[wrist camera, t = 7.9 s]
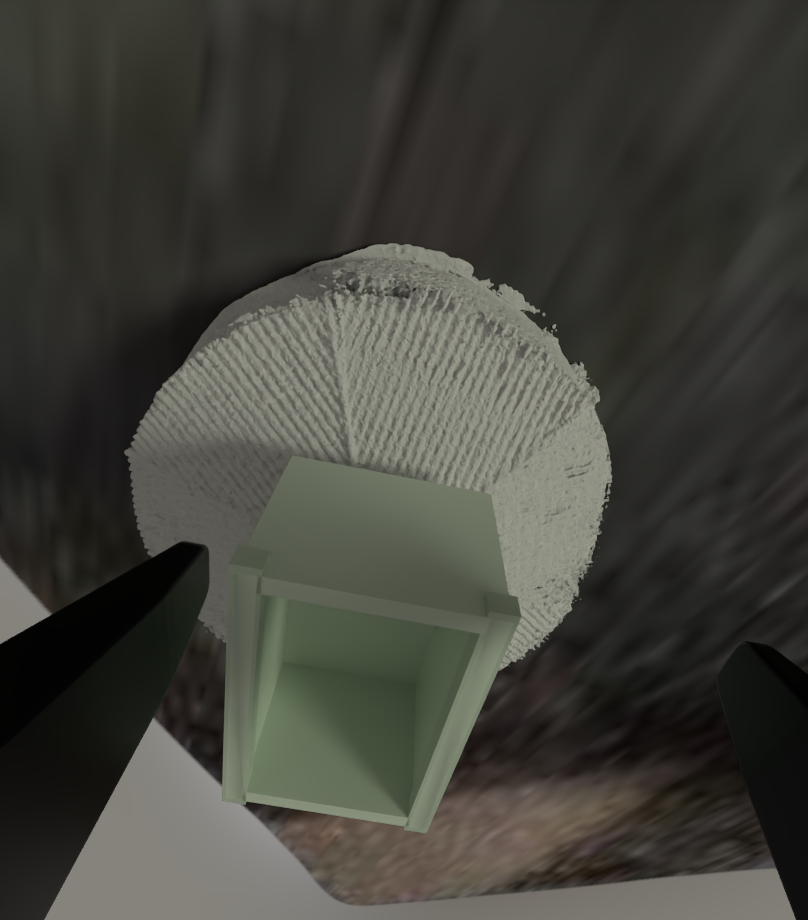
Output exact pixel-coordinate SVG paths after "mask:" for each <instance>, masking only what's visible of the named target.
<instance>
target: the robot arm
mask: <svg viewBox="0 0 808 920" xmlns="http://www.w3.org/2000/svg"><path fill="white" fill-rule="evenodd" d="M209 583H210V572H209V549H208V547H207V546H206V545H204V544H200V543H194V542H189V541H182V542H179V543H177V544H175V545H173V546H171V547H170V548H168V549H166V550H164V551H163V552H161V553H159V554H157V555H156V556H154V557H152V558H150V559H149V560H147V561H145V562H143V563H142V564H140V565H138V566H136V567H135V568H133V569H131V570H129V571H128V572H126V573H124V574H122V575H121V576H119V577H117V578H115V579H114V580H112V581H110V582H108V583H107V584H105V585H103V586H101V587H100V588H98V589H96V590H94V591H93V592H91V593H89V594H87V595H86V596H84V597H82V598H80V599H79V600H77V601H75V602H73V603H72V604H70V605H68V606H66V607H64V608H63V609H61V610H59V611H57V612H56V613H54V614H52V615H50V616H49V617H47V618H45V619H43V620H42V621H40V622H38V623H36V624H35V625H33V626H31V627H30V628H28V629H26V630H24V631H23V632H21V633H19V634H17V635H15V636H14V637H12V638H10V639H8V640H7V641H5V642H3V643H2V644H0V920H44V919H45V917H46V915H47V913H48V912H49V910H50V908H51V906H52V904H53V902H54V901H55V899H56V897H57V895H58V893H59V891H60V889H61V888H62V886H63V884H64V882H65V880H66V878H67V876H68V875H69V873H70V871H71V869H72V867H73V865H74V863H75V862H76V860H77V858H78V856H79V854H80V852H81V850H82V848H83V847H84V845H85V843H86V841H87V839H88V837H89V835H90V834H91V832H92V830H93V828H94V826H95V824H96V822H97V821H98V819H99V817H100V815H101V813H102V811H103V810H104V808H105V806H106V804H107V802H108V800H109V798H110V796H111V795H112V793H113V791H114V789H115V787H116V785H117V784H118V782H119V780H120V778H121V776H122V774H123V772H124V771H125V769H126V767H127V765H128V763H129V761H130V760H131V758H132V756H133V754H134V752H135V750H136V748H137V747H138V745H139V743H140V741H141V739H142V737H143V735H144V734H145V732H146V730H147V728H148V726H149V724H150V722H151V720H152V719H153V717H154V715H155V713H156V711H157V709H158V708H159V706H160V704H161V702H162V700H163V698H164V696H165V694H166V692H167V690H168V688H169V686H170V684H171V682H172V680H173V678H174V675H175V673H176V671H177V668H178V666H179V663H180V661H181V658H182V656H183V653H184V651H185V648H186V646H187V644H188V641H189V639H190V636H191V634H192V631H193V629H194V626H195V624H196V621H197V619H198V616H199V614H200V611H201V609H202V607H203V604H204V602H205V599H206V596H207V593H208V590H209ZM716 683H717V689H718V692H719V696H720V700H721V703H722V707H723V710H724V714H725V717H726V721H727V725H728V728H729V732H730V735H731V739H732V742H733V746H734V750H735V753H736V757H737V760H738V764H739V767H740V770H741V774H742V777H743V780H744V783H745V786H746V789H747V791H748V794H749V797H750V800H751V802H752V805H753V808H754V810H755V813H756V816H757V818H758V821H759V823H760V826H761V829H762V831H763V834H764V837H765V839H766V842H767V845H768V847H769V850H770V852H771V855H772V858H773V860H774V863H775V866H776V868H777V871H778V873H779V876H780V879H781V881H782V884H783V887H784V889H785V892H786V894H787V897H788V900H789V902H790V905H791V907H792V910H793V913H794V916H795V918H796V920H808V674H807V673H806V672H804V671H803V670H802V669H800V668H799V667H798V666H796V665H795V664H794V663H792V662H791V661H790V660H789V659H787V658H786V657H785V656H783V655H782V654H781V653H779V652H778V651H777V650H775V649H774V648H772V647H771V646H768V645H765V644H760V643H754V642H748V641H746V642H742V643H740V644H738V645H737V646H736V648H735V649H734V651H733V652H732V653H731V655H730V656H729V657H728V659H727V660H726V661H725V663H724V664H723V665H722V667H721V668H720V670H719V671H718V674H717V679H716Z"/></svg>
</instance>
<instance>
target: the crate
mask: <svg viewBox="0 0 808 920" xmlns="http://www.w3.org/2000/svg"><path fill="white" fill-rule="evenodd" d="M520 619H521V612H520V607H519V602H518V597H517V596H512V595H509V592H508V586H507V581H506V575H505V570H504V564H503V558H502V553H501V547H500V542H499V536H498V531H497V525H496V519H495V514H494V508H493V503H492V497H491V494H489V493H484V492H478V491H473V490H468V489H463V488H458V487H453V486H448V485H443V484H437V483H432V482H427V481H422V480H417V479H412V478H407V477H401V476H396V475H391V474H386V473H381V472H376V471H371V470H365V469H360V468H355V467H350V466H345V465H340V464H335V463H330V462H324V461H319V460H314V459H309V458H304V457H299V456H294V455H292V457H291V459H290V461H289V463H288V465H287V467H286V469H285V471H284V473H283V475H282V477H281V479H280V481H279V483H278V485H277V487H276V489H275V490H274V492H273V494H272V496H271V498H270V500H269V502H268V504H267V506H266V508H265V510H264V512H263V514H262V516H261V518H260V520H259V522H258V524H257V526H256V528H255V530H254V532H253V534H252V536H251V538H250V540H249V542H248V544H247V546H241V545H238V547H237V549H236V551H235V553H234V555H233V557H232V559H231V561H230V562H229V574H228V609H227V643H226V677H225V712H224V746H223V781H222V801H226V802H233V803H239V804H246V801H248V802H254V803H261V804H267V805H273V806H280V807H286V808H292V809H299V810H305V811H311V812H317V813H324V814H330V815H336V816H343V817H349V818H355V819H362V820H368V821H374V822H380V823H387V824H393V825H399V826H404V830H409V831H415V832H422V833H427V830H428V828H429V826H430V824H431V821H432V819H433V817H434V814H435V812H436V810H437V808H438V805H439V803H440V801H441V799H442V796H443V794H444V792H445V790H446V787H447V785H448V783H449V780H450V778H451V776H452V774H453V771H454V769H455V767H456V765H457V762H458V760H459V758H460V755H461V753H462V751H463V749H464V746H465V744H466V742H467V740H468V737H469V735H470V733H471V731H472V728H473V726H474V724H475V721H476V719H477V717H478V715H479V712H480V710H481V708H482V706H483V703H484V701H485V699H486V697H487V694H488V692H489V690H490V687H491V685H492V683H493V681H494V678H495V676H496V674H497V672H498V669H499V667H500V665H501V662H502V660H503V658H504V656H505V653H506V651H507V649H508V647H509V644H510V642H511V640H512V638H513V635H514V633H515V631H516V628H517V626H518V624H519V622H520Z"/></svg>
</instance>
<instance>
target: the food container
mask: <svg viewBox="0 0 808 920" xmlns="http://www.w3.org/2000/svg"><path fill="white" fill-rule="evenodd" d="M471 274H473V266H472V265H470V264H469V263H468V262H466V261H464V260H461V259H459V258H451V257H449V256H448V255H447V254H445V253H444V252H440V251H433V250H430V249H424V248H423V247H419V246H412V245H410V244H405V245H398V244H391V243H390V244H387V245H384V244H383V245H381V244H379V245H372V246H369V247H368V248H365V249H361V250H356V251H355V252H353V253H350V254H347V255H343V256H342V257H340V258H336V259H333V260H327V261H321V262H319V263H315V264H313V265H311V266H310V267H306V268H304V269H303V268H302V270H301V271H299V272H297V273H296V274H293V275H290V276H287V277H284V278H281V279H279V280H278V281H275V282H272V283H269V284H268V286H264V287H261V288H259V289H258V290H255V291H252V292H251V293H250V294H247V295H245V296H244V297H243V298H242V299H238V300H237V301H234V302H233V303H232V304H230V305H229V306H228V307H225V308H224V309H223V310H222V311H221V313H220V314H219V315H218V317H216V318H215V320H213V323H211V324H210V325H209V327H208V328H207V330H206V331H204V333H203V335H201V338H200V339H199V341H198V342H197V343H196V345H195V346H194V347H193V350H192V351H191V353H190V354H189V355H188V357H187V359H186V361H184V364H183V365H182V366H181V368H179V369H178V371H176V372H175V373H174V375H173V376H171V377H169V378H168V379H169V380H167V381H166V382H165V383H163V384H162V388H161V389H160V390H159V391H157V393H156V396H155V398H154V399H153V401H154V403H153V404H151V406H150V409H149V410H148V411H147V413H146V414H145V415H144V418H143V420H141V421H140V422H139V423H140V424H141V425H140V426H139V427H138V428H137V432H138V433H137V434H135V435H134V436H133V438H134V439H135V440H134V441H133V442H131V445H132V448H131V447H130V448H129V449H127V450H125V451H124V453H125V455H127V456H129V458H128V462H130V463H131V464H130V467H129V470H130V471H132V472H131V475H130V478H131V479H132V480H133V482H132V483H131V487H134V488H133V490H132V492H131V493H132V495H134V497H133V499H132V501H133V502H134V503H135V504H133V507H134V509H136V510H135V512H134V514H135V515H136V516H138V517H137V521H136V522H139V523H138V525H137V528H138V530H141V532H140V535H141V537H144V538H143V543H145V545H144V547H145V548H147V549H149V551H148V552H147V554H148V555H151V556H152V557H154V556H156V555H157V554H159V553H161V552H163V551H164V550H166V549H168V548H170V547H171V546H173V545H175V544H177V543H179V542H182V541H189V542H194V543H200V544H204V545H206V546H207V547H208V549H209V572H210V583H209V590H208V593H207V596H206V599H205V602H204V604H203V607H202V609H201V611H200V614H199V616H198V619H200V621H202V622H205V623H204V626H206V627H210V628H209V629H210V631H211V632H213V634H214V633H215V635H216V636H215V637H216V638H218V639H219V638H220V637H221V639H222V641H223V642H226V643H227V639H226V638H227V609H228V574H229V562H230V561H231V559H232V557H233V555H234V553H235V551H236V549H237V547H238V545H241V546H247V544H248V542H249V540H250V538H251V536H252V534H253V532H254V530H255V528H256V526H257V524H258V522H259V520H260V518H261V516H262V514H263V512H264V510H265V508H266V506H267V504H268V502H269V500H270V498H271V496H272V494H273V492H274V490H275V489H276V487H277V485H278V483H279V481H280V479H281V477H282V475H283V473H284V471H285V469H286V467H287V465H288V463H289V461H290V459H291V457H292V455H294V456H299V457H304V458H309V459H314V460H319V461H324V462H330V463H335V464H340V465H345V466H350V467H355V468H360V469H365V470H371V471H376V472H381V473H386V474H391V475H396V476H401V477H407V478H412V479H417V480H422V481H427V482H432V483H437V484H443V485H448V486H453V487H458V488H463V489H468V490H473V491H478V492H484V493H489V494H491V497H492V503H493V508H494V514H495V519H496V525H497V531H498V536H499V542H500V547H501V553H502V558H503V564H504V570H505V575H506V581H507V586H508V592H509V595H512V596H517V597H518V602H519V607H520V612H521V619H520V622H519V624H518V626H517V628H516V631H515V633H514V635H513V638H512V640H511V642H510V644H509V647H508V649H507V651H506V653H505V656H504V658H503V660H502V662H501V665H500V667H499V669H498V671H499V670H502V669H503V668H504V667H506V666H508V665H509V663H510V662H511V661H513V662H516V660H517V659H519V658H520V657H521V656H523V657H525V655H524V654H525V652H527V651H528V650H527V649H533V650H535V649H534V645H536V644H537V645H536V646H537V647H540V646H539V645H540V643H539V642H542V641H543V640H542V638H544V636H546V635H548V634H549V633H548V632H552V631H553V630H554V629H553V628H555V627H556V626H557V625H558V623H562V620H563V618H562V617H563V616H564V615H565V614H566V613H569V612H570V611H571V610H572V608H571V604H570V603H572V600H573V599H574V598H573V599H572V597H573V595H575V596H577V595H578V590H579V589H577V588H579V587H578V586H577V584H578V582H579V581H578V578H579V577H581V579H583V578H582V577H583V575H584V574H583V573H585V574H586V570H587V569H586V568H587V566H588V567H589V565H584V564H588V563H593V562H592V561H591V557H592V556H591V555H592V554H593V552H592V551H593V550H594V549H593V548H595V541H597V540H596V539H597V535H599V534H600V533H601V532H598V531H599V530H598V529H599V528H598V526H600V521H601V520H600V519H602V516H601V515H602V512H603V507H601V506H602V505H603V504H604V502H605V501H609V499H607V500H606V499H604V497H605V495H606V494H605V488H606V484H607V483H612V480H611V478H612V476H611V469H612V468H611V466H610V464H611V460H610V457H609V456H608V458H607V455H608V454H609V453H610V452H609V450H608V446H607V444H608V443H607V441H606V440H607V439H606V434H605V432H604V430H603V429H602V427H603V426H602V425H601V424H600V422H599V420H600V419H597V418H598V417H597V415H596V412H595V410H594V408H595V406H594V405H595V404H596V402H599V401H600V397H599V391H598V390H597V389H596V386H590V384H589V383H587V382H586V381H585V379H590V378H587V377H586V376H587V375H586V373H587V372H586V370H584V368H583V367H584V365H583V363H582V362H580V365H579V366H578V365H577V363H576V362H575V363H576V364H572V365H570V364H569V363H568V361H567V359H566V357H564V355H563V354H562V352H561V349H560V345H559V344H558V339H557V338H555V337H554V336H553V335H552V334H553V333H552V334H550V333H549V332H548V331H546V328H547V327H545V328H544V329H543V330H541V329H540V328H539V327H538V326H537V325H536V324H535V323H534V322H532V321H531V320H530V319H529V318H527V316H526V315H525V314H524V311H523V312H522V311H521V310H525V311H526V310H527V311H530V312H533V313H534V314H535V312H539V311H540V310H539V309H537V310H536V309H535V308H534V306H529V303H528V302H525V301H524V297H523V295H522V294H520V293H518V291H517V290H513V289H512V287H508V286H507V285H506V284H502V285H499V290H498V291H497V292H496V291H495V290H492V291H491V290H489V289H488V288H490V287H491V286H493V285H494V284H492V283H490V279H487V280H481V281H480V280H479V281H478V279H476V277H474V276H473V277H472V275H471ZM471 277H472V278H471ZM487 286H488V288H487ZM498 292H501V293H502V295H501V294H500V293H498ZM496 294H497V295H496ZM498 295H499V297H498ZM542 315H543V316H545V313H542ZM552 328H553V329H555V328H556V324H554V325H552ZM552 331H553V330H552ZM552 331H551V332H552ZM555 331H557V329H556V330H555ZM591 381H592V380H591ZM609 455H610V454H609ZM608 480H609V481H608ZM610 486H611V484H609V485H608V487H610ZM607 494H610V489H609V488H608V492H607ZM607 496H608V495H607ZM607 498H609V497H607ZM603 499H604V500H603ZM606 508H607V505H606ZM606 508H605V509H606ZM600 513H601V514H600ZM598 516H599V517H598ZM597 519H598V521H597ZM603 522H604V521H603ZM598 543H599V542H598ZM591 547H592V550H590V548H591ZM588 554H589V555H590V556H588ZM152 557H151V558H152ZM591 567H592V566H591ZM583 571H585V572H583ZM587 572H588V571H587ZM580 573H581V574H582V576H581V575H580ZM579 575H580V576H579ZM577 577H578V578H577ZM577 581H578V582H577ZM573 593H575V594H573ZM577 597H578V596H577ZM580 600H581V599H580ZM575 601H577V600H575ZM573 603H574V602H573ZM564 618H565V617H564ZM211 626H212V627H211ZM558 627H559V626H558ZM206 632H208V631H206ZM223 635H224V637H225V638H224V637H223ZM541 635H543V637H542V636H541ZM548 636H549V635H548ZM546 639H548V638H546ZM538 641H539V642H538ZM544 642H545V641H543V643H544ZM520 659H523V658H520ZM509 667H510V666H509Z"/></svg>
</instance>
